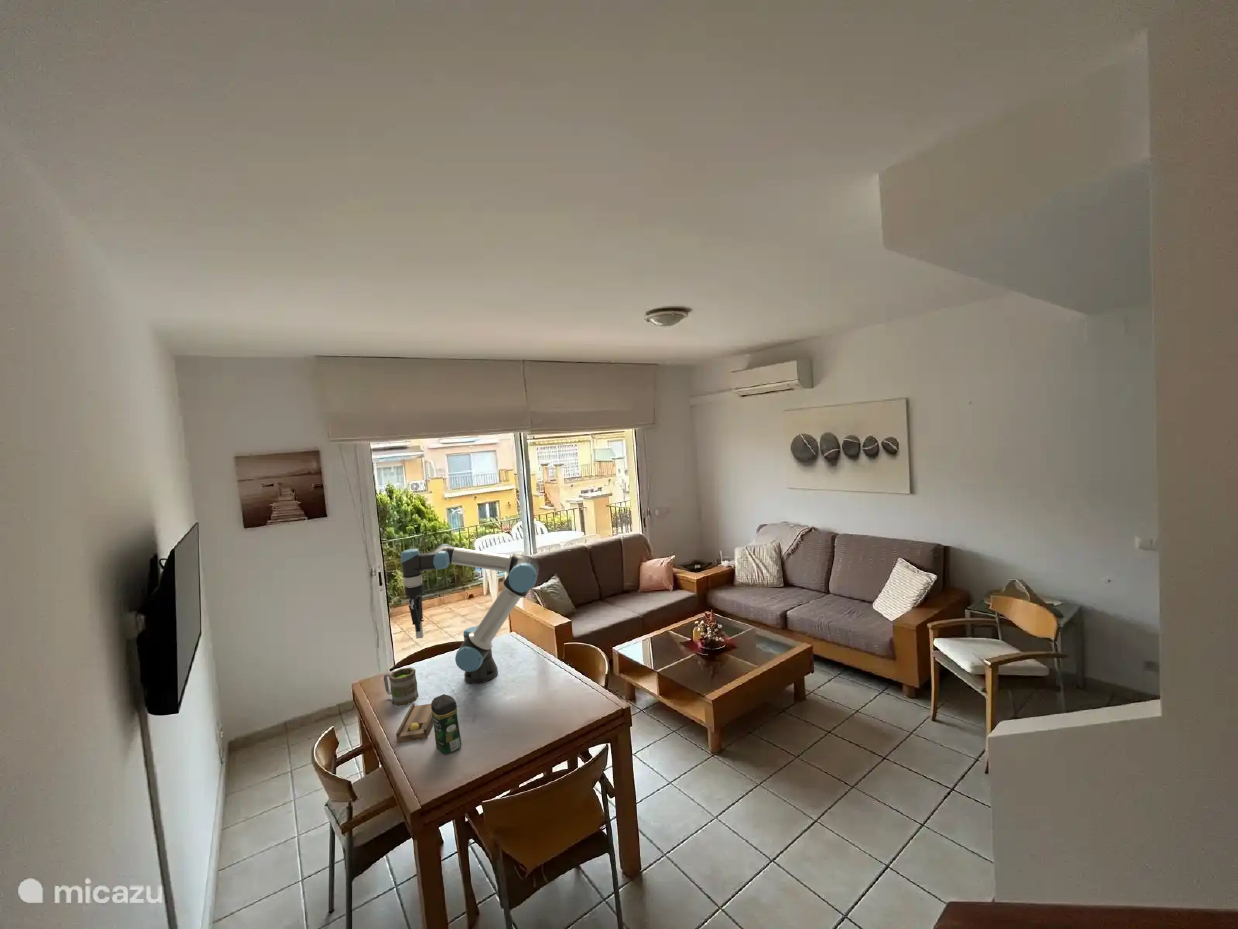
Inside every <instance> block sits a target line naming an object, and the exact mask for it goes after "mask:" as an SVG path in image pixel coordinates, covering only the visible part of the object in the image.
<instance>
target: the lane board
mask: <svg viewBox="0 0 1238 929" xmlns="http://www.w3.org/2000/svg"><path fill="white" fill-rule="evenodd" d="M413 723H418V724H419V730H416V731H410V726H411V724H413ZM433 727H434V723H433V716H432V710H431V703H425V704H420V705H419V704H418V705H416V704H415V702H412V703H411V704H410V707H409V709H408V710H407V712H406V714H405V716H404V718H403V720H402V722H401V724H400V725H399V726H398V730H397V731H396V733H395V737H396V743H397V744H401V743H406V742H407V743H408V742H414V741H419V740H420V741H421V740H426V739H428V738H429V735H430V734H431V733H430V732H431V730H432V728H433Z"/></svg>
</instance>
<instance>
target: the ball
mask: <svg viewBox="0 0 1238 929" xmlns="http://www.w3.org/2000/svg"><path fill="white" fill-rule="evenodd" d="M416 730H420V729H419V724H418V723H413V724H411V726H410V731H416Z"/></svg>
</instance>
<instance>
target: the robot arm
mask: <svg viewBox="0 0 1238 929" xmlns="http://www.w3.org/2000/svg"><path fill="white" fill-rule="evenodd" d="M400 564H401V570H402V581H403V585H404V595H405V596H406V597H409V598H410V599H409V605H408V609H409V611H410V617H411V621H412V624H411V625H413V626H414V632H415V637H416V639H417V640H418V639H424V636H425V635H424V628H423V622H424V615H423V614H424V613H423V596H422V594H424V592H425V591H424V584H423V582H424V581H423V574H422V572H423V571H434V570H443V569H447V568H448V567H449V565H450V564H452V565H457V566H465V567H470V568H477V569H478V568H479V569H483V570H490V571H498V572H504V573H507V576H506V577H505V579H504V580H503V583H502V584H503V589H502V590H501V591H500V593H499V595H498V596H497V598H496V599H495V600H494V602H493V603H492V605H490V607H489V609H488V611H487V612H486V614H485V615H484V617H483V618H482V619H481V621H480V623H479V624H478V625H476V626H472V627H468V628H466V629H464V630H463V641H462V643H461V645H460V646H459V648H458V650H457V651H456V653H455V658H454V659H455V660H454V661H455V663H456V666H457V667H458V668H459V669H460V670H461V671H463V672H464V674H463V676H464V681H465V682H466V683H468V684H480V683H484V682H488V681H491V680H492V679H494V678H496V676H497V675H498V672H499V671H498V666H497V664H496V662H495V660H494V658H493V650H492V647H493V644H492V641H493V640H494V639H495V637H496V636H497V634H498V632H499V631H500V629H501V628H502V626H503V625H504V623H505V622H506V621H507V619H508V618H509V616H510V614H511V613H512V611H513V610H514V608H515V606H516V605H517V604H518V602H519V601H520V599H523V598H525V597H527V595H528V594H529V592H530V590H532V588H534V587H535V585H536V583H537V581H538V576H539V573H540V564H539V562H538V561H537V560H536V559H535V557H534V558H533V557H532V556H528V555H524V554H523V555H522V554H515V553H511V554H510V555H507V554H500V553H495V552H494V553H493V552H487V551H480V550H474V549H468V548H467V549H466V548H461V547H456V546H455V547H454V546H452V545H450V544H449V543H443V544H440V545H438V546H436V548H435V549H434V550H432V551H430V552H421V553H420V550H419V549H418V548H410V549H406V550H403V551H401V553H400Z"/></svg>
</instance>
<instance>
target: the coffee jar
mask: <svg viewBox="0 0 1238 929" xmlns="http://www.w3.org/2000/svg"><path fill="white" fill-rule="evenodd" d="M430 704H431V710H432V716H433V723H434V724H433V730H434V741H435V747H436V749H437V751H438V752H440V753H441V754H442V755H446V754H447V755H449V754H451V753H454V752H456V751H457V750H459V749H460V747H462V738H461V733H460V724H459V717H458V706H457V700H455V698H454V697H453V696H452V695H448V694H445V693H444V694H441V695H438V696H435V697H434V698H433V700H432V701H431V703H430Z"/></svg>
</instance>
